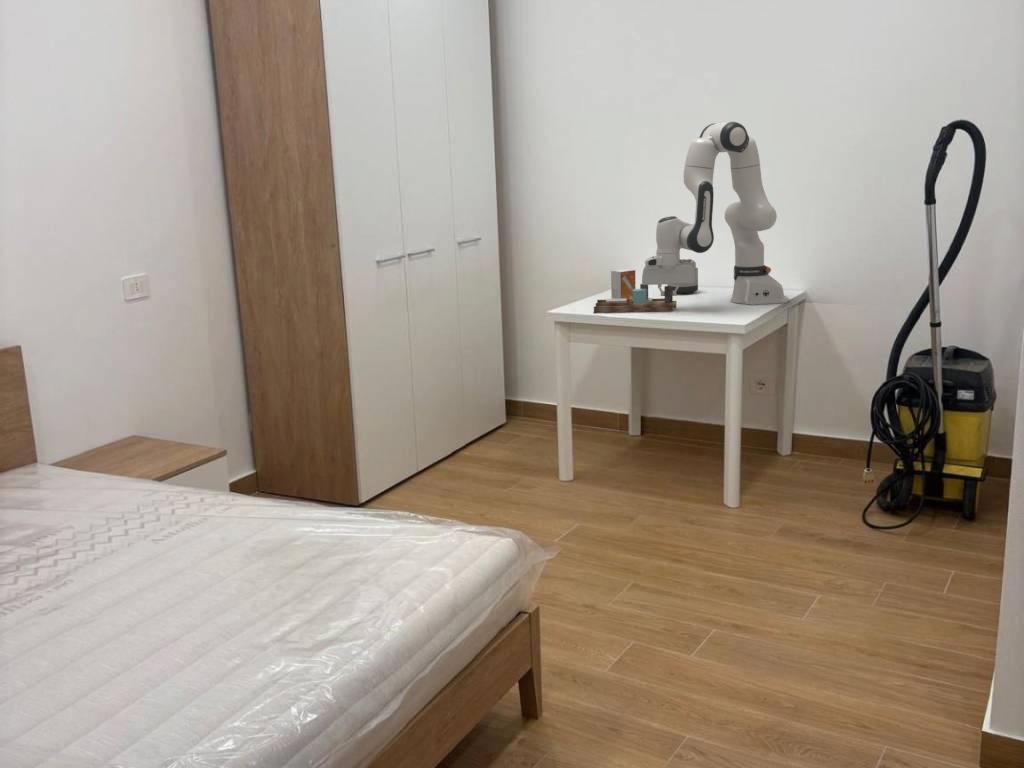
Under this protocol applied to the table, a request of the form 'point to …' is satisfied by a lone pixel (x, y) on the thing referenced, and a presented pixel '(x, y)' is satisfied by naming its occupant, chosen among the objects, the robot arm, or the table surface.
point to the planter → (687, 286)
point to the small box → (622, 283)
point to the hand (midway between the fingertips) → (668, 295)
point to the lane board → (629, 307)
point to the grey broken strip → (626, 298)
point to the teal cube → (639, 296)
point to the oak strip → (667, 301)
